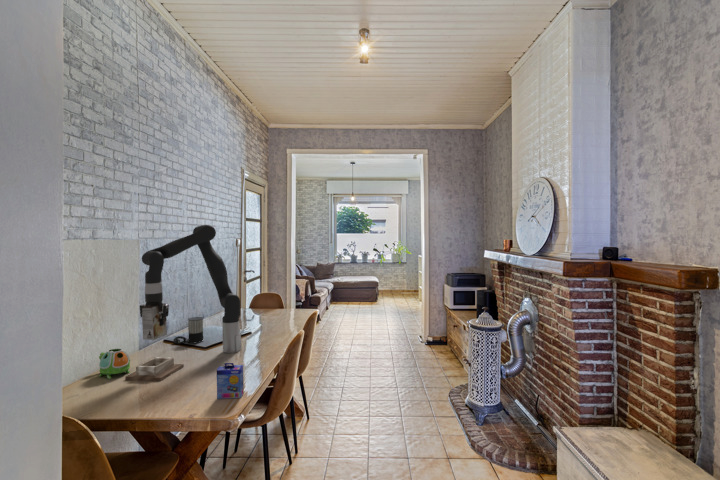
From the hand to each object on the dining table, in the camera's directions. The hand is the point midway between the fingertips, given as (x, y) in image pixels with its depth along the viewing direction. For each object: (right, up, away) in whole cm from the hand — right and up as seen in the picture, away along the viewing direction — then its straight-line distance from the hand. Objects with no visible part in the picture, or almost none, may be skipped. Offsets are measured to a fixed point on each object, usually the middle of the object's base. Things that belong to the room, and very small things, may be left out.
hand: (154, 325), depth 182 cm
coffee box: (0, -6, 0) cm, 6 cm away
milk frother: (-7, -23, +53) cm, 58 cm away
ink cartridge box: (+47, -23, -27) cm, 59 cm away
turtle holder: (-21, -24, +1) cm, 32 cm away
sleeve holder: (0, -23, 0) cm, 23 cm away
